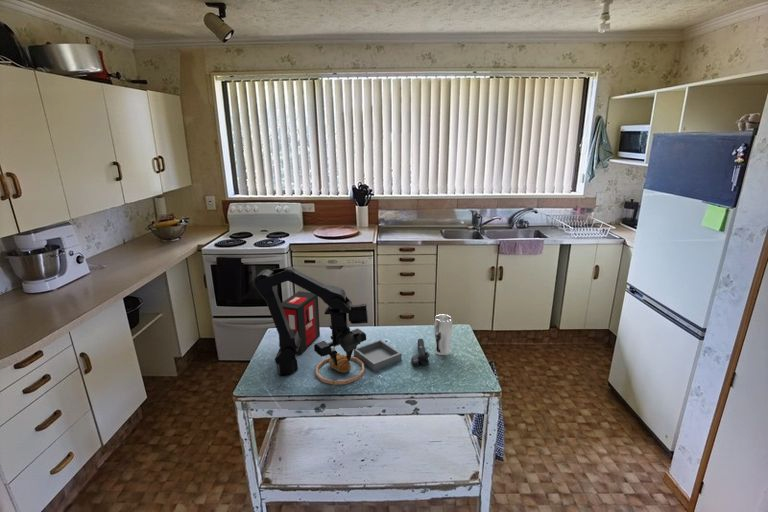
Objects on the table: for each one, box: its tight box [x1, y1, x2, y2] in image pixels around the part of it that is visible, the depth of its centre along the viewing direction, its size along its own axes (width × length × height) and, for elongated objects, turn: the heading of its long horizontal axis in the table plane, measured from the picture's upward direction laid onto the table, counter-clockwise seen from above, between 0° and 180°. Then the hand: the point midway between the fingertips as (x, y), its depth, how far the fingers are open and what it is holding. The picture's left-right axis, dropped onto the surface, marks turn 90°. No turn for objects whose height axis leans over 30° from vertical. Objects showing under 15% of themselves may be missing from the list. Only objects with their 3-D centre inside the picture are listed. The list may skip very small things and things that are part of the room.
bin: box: [353, 339, 403, 372], centre depth 151 cm, size 13×14×3 cm
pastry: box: [328, 352, 352, 373], centre depth 144 cm, size 9×7×4 cm
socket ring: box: [315, 354, 365, 386], centre depth 143 cm, size 17×17×1 cm
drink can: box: [433, 313, 453, 356], centre depth 153 cm, size 7×7×15 cm
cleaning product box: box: [281, 291, 321, 356], centre depth 159 cm, size 16×9×20 cm, turn 162°
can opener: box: [411, 338, 431, 367], centre depth 151 cm, size 18×7×6 cm, turn 174°
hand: (342, 362), depth 142 cm, fingers open, 5 cm apart
